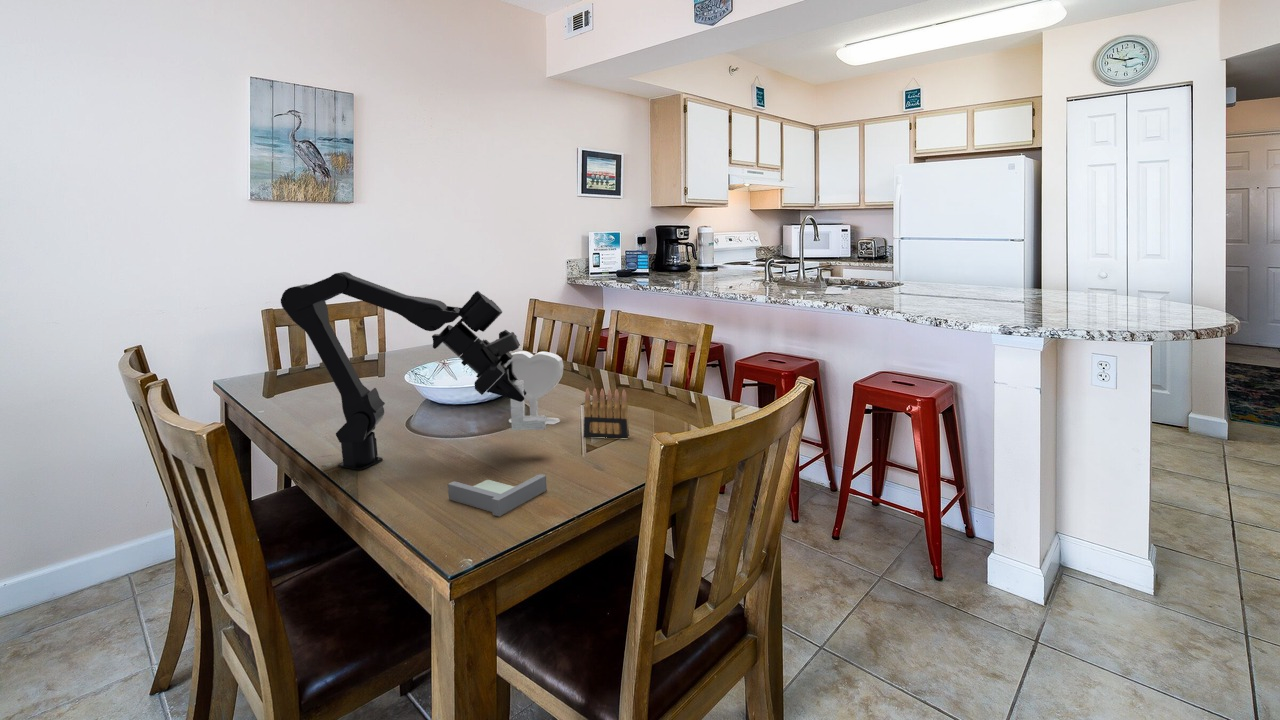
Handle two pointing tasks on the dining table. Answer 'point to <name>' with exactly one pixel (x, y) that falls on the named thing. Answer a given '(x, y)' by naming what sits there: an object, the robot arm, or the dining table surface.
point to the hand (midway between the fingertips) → (524, 397)
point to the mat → (494, 486)
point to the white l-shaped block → (518, 413)
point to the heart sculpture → (537, 376)
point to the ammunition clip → (606, 416)
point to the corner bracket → (497, 495)
